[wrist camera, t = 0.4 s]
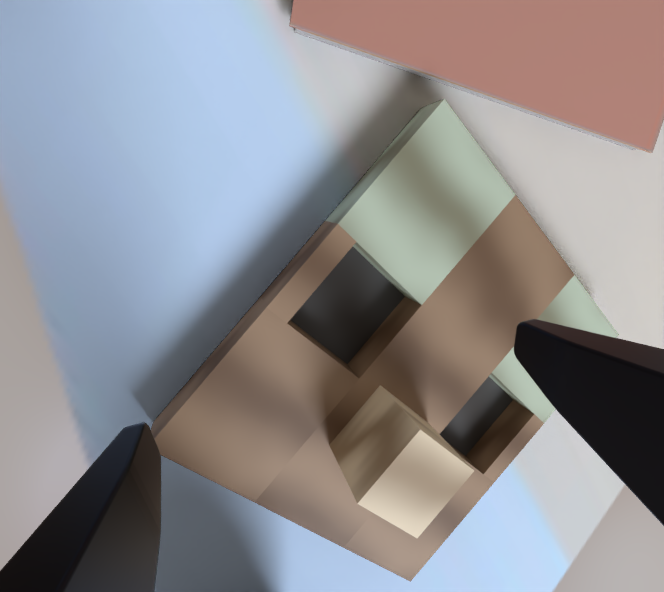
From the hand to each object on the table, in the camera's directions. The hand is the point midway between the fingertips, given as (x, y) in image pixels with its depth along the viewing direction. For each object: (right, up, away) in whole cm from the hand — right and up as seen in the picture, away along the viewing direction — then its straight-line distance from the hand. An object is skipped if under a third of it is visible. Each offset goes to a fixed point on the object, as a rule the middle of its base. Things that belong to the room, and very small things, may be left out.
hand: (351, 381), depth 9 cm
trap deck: (+5, -3, +19) cm, 20 cm away
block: (+3, -7, +16) cm, 18 cm away
